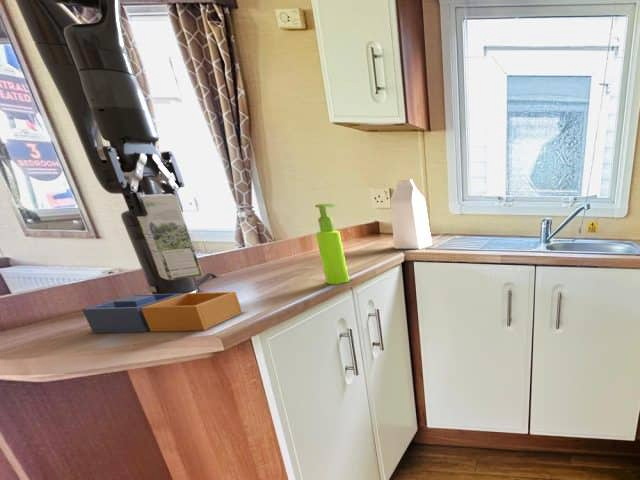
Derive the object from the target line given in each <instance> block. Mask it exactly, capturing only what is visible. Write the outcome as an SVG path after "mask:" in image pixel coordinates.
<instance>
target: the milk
mask: <svg viewBox="0 0 640 480" xmlns="http://www.w3.org/2000/svg"><path fill="white" fill-rule="evenodd" d="M389 207H390V218H391V228H392V237H393V248H394V249H406V250H407V249H408V250H409V249H415V250H416V249H417V250H419V249H423V248H427V247H429V246H430V247H431V246H433V241H432V234H431V229H430V223H429V216H428V210H427V205H426V199H425V197H424V196H423V194H422V193H421V192H420V191H419V190H418V188H417V187H416V185H415V183H414V181H413V179H397V182H396V188H395V189H394V191H393V194H392V195H391V197H390V200H389Z"/></svg>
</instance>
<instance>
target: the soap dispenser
mask: <svg viewBox="0 0 640 480" xmlns="http://www.w3.org/2000/svg"><path fill="white" fill-rule="evenodd" d="M314 206H315V208H318V209H319V214H320V216H319V217H318V218H317V221H318V226H319V231H317V232H315V235H316V241H317V246H318V250H319V254H320V258H321V262H322V267H323V272H324V276H325V281H326V284H328V285H340V284H346V283H349V282H350V277H349V272H348V268H347V261H346V258H345V251H344V247H343V243H342V238H341V232H340V230H335V227H334V223H333V218H332V217H331V216H330V215H328V210H327V207H328V208H335V206H336V205H335V204H332V203H318V204H315V205H314Z"/></svg>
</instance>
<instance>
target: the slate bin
mask: <svg viewBox="0 0 640 480" xmlns="http://www.w3.org/2000/svg"><path fill="white" fill-rule="evenodd" d="M180 295H183V294H182V293H178V294H152V293H151V294H150V293H149V294H147V293H146V294H133V295H128V296H125V297H122V298H118V299H115V300H111V301H107V302H104V303H100V304H96V305H92V306H89V307H86V308H82V309H81V311H82V313H83V314H84V316H85V319H86V321H87V323H88V325H89V328H90V329H91V330H92V334H101V333H103V334H105V333H110V334H111V333H145V332H149V331H150V328H149V326H148V323H147V321H146V319H145V316H144V314H143V312H142V309H141V308H142V307H145V306H148V305H152V304H155V303H158V302H161V301H164V300H167V299H170V298H174V297H177V296H180ZM131 296H154V297H155V300H156V301H153V302H150V303H147V304H144V305H140V306H137V307H120V308H116V307H115V305H114V303H113V302H114V301H117V300H121V299H124V298H128V297H131Z"/></svg>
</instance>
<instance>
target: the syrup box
mask: <svg viewBox="0 0 640 480" xmlns="http://www.w3.org/2000/svg"><path fill="white" fill-rule="evenodd" d="M140 195H141V198H142V201H143V203H144V206H145V209H146V211H147V216H141V217H137V219H138V221H139V224H140V226H141V229H142V231H143V234H144V237H145V239H146V242H147V244H148V247H149V250H150V252H151V255H152V257H153V260H154V263H155V265H156V268H157V271H158V273H159V276H160V277H161V278H164V279H167V280H174V279H181V278H188V277H195V278H196V277H200V276H203V270H202V268H201V264H200V262H199V258H198V256H197V253H196V250H195V248H194V244H193V241H192V239H191V236H190V235H191V234H190V232H189V229H188V225H187V223H186V221H185V217H184V214H183V212H182V211H181V208H180V205H179V202H178V199H177V197H176V196H175V195H173V194H151V195H145V194H140Z"/></svg>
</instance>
